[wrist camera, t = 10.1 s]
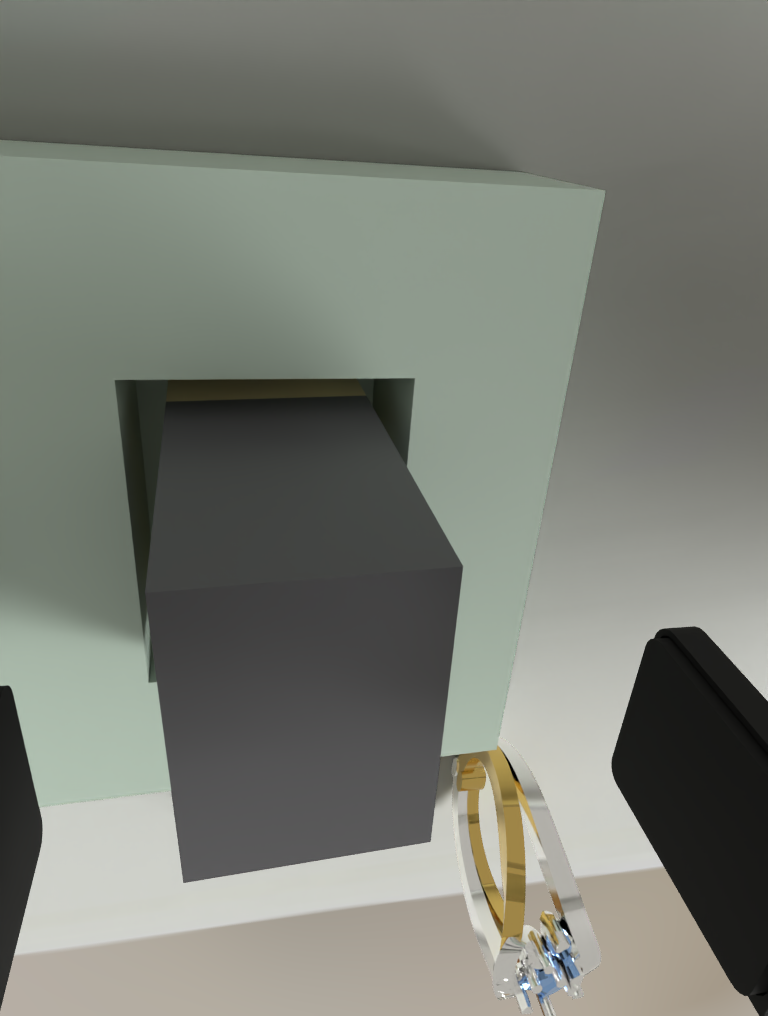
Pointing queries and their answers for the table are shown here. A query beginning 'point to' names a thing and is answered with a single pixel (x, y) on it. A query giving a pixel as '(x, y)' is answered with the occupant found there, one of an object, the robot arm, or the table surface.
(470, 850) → the ring
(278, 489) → the plug
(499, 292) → the socket
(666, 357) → the table surface
